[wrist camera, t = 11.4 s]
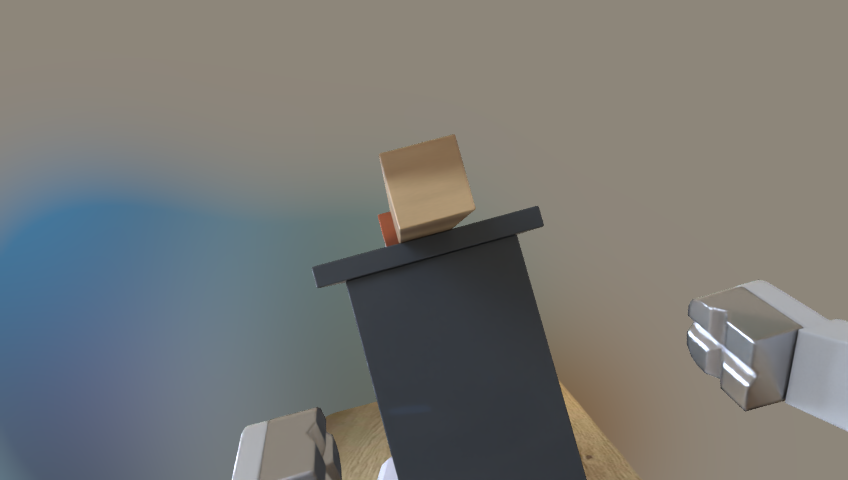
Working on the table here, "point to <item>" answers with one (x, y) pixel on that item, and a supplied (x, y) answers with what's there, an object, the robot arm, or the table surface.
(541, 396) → the stand
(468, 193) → the stick
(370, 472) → the table surface
